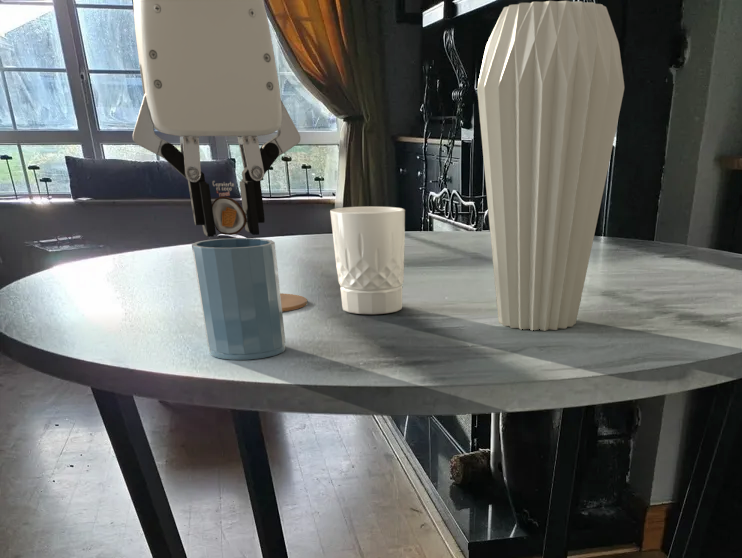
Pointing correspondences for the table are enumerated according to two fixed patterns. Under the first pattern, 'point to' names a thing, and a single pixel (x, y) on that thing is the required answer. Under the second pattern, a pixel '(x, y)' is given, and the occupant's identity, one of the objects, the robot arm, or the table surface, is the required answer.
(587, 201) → the vase
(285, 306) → the cork coaster
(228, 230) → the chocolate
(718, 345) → the table surface
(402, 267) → the white cup
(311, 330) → the table surface
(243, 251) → the tumbler
